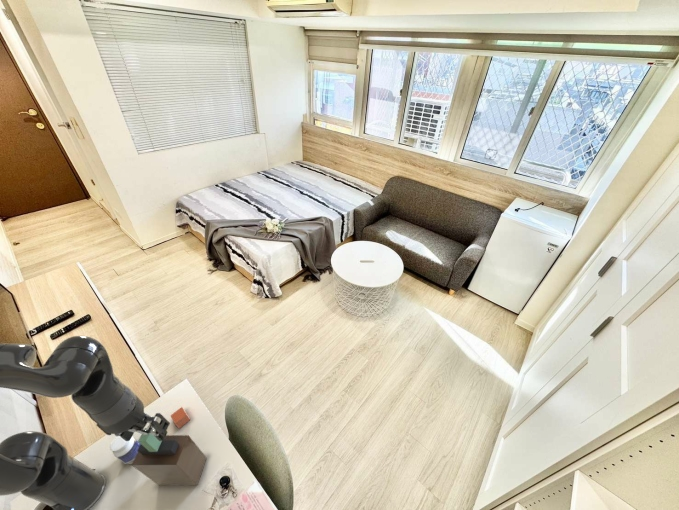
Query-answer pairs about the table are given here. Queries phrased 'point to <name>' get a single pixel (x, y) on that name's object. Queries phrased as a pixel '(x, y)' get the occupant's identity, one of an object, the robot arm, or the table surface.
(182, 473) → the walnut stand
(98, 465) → the table surface
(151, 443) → the wiper
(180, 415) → the orange red cube
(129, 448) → the pill bottle
